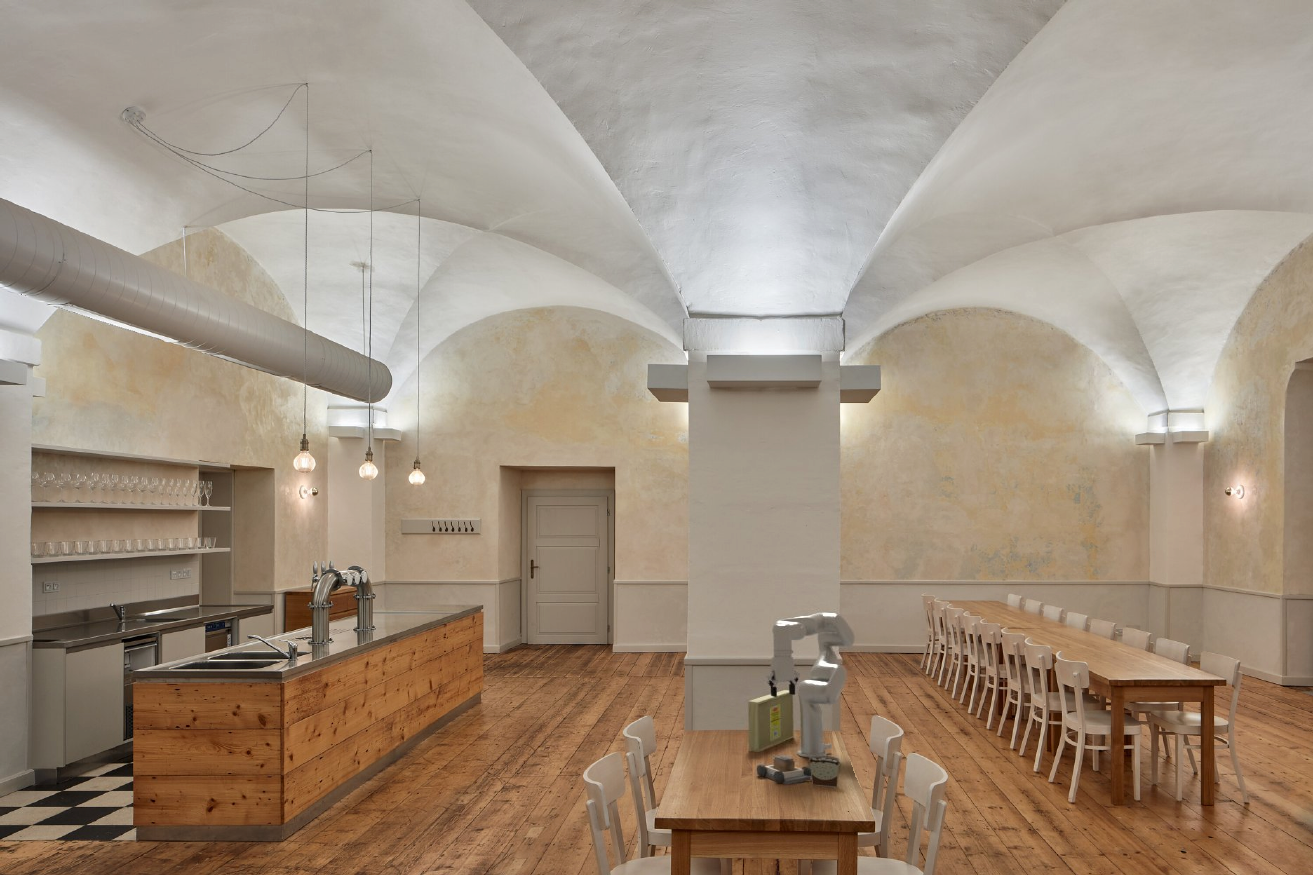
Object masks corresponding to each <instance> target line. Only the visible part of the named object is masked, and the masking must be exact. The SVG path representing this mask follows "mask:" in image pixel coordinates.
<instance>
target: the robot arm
mask: <svg viewBox="0 0 1313 875" xmlns="http://www.w3.org/2000/svg"><path fill="white" fill-rule="evenodd" d="M772 634H773V656H772V657H771V660H770V666H769V667H770V668H769V669H770V670H769V673H768V674H766V675H765V680H766V682H767V684H768V685H769V687H770V694H771V696H773V697H777V692H778V689H777V688H778V687H777V685H778V683H782V682H785V683H786V682H789V684H788V691H789V694H792V695H793V696H795V695H796V685H797V682H798V681H799V679H800V678H799V677H800V675H801V673H799V672H797V671H796V669H795V663H794V657H793V656H792V654H794V650H793V648H792V645H793V644H792V641H801V640H803V639H804V638H805V637H809V636H813V635H817V643H818V650H819V651H818V652H819V654H818V656H817V658H816V660H815V662H814V663H813V665H812V667H811V670H810V672H809V678H810V679H805V680H802V681H800V682H799V684H798V686H797V694H798V696H797V697H798V701H799V708H800V710H799V711H800V714H799V715H800V718H799V719H800V749H798V750H797V753H796V754H797V755H798V756H800V757H803V758H809V759H810V757H813V756H828V753H827V751H826V750H827V749H831V748H832V744H831V743H824V734H823V733H824V731H823V730H824V729H823V728H824V727H823V726H824V725H823V724H824V723H823V719H824V716H823V711H822V708H821V706H820V705H826V706H831V705H834V704H835V703H836V702H837V700H838V698H839V696H840V694H841V692H842V690H843V689H844V686H845V683H846V681H847V670H846V668H845V666H844V665H843V664H839V663H837V662H838V657H837V654H836V652H835V650H834V649H833V647H837V648H850V647H852V646H853V645H854V643H855V634H854V631H853V629H852V628H851V626H850V625H849V624H848V622H847V620H846V619H845V618H844V617H843V616H842V615H841V614H839V613H834V612H833V613H831V612H816V613H813V614H810V615H807V616H806V615H805V616H798V617H790V618H784V619H780V620H777V621H776V622H775V623H774V624H773V626H772Z"/></svg>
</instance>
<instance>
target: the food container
mask: <svg viewBox="0 0 1313 875" xmlns="http://www.w3.org/2000/svg"><path fill="white" fill-rule="evenodd" d="M807 764H809V767H810V769H811V783H812V786H817V785H820V787H828V788H829V787H831V788H838V781H839V770H840V767H841V761H840V759H839V758H838V757H835V756H832V755H831V756H830V755H826V756H813V757H810V758H809V759H808V762H807Z"/></svg>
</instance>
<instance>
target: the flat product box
mask: <svg viewBox="0 0 1313 875" xmlns="http://www.w3.org/2000/svg"><path fill="white" fill-rule="evenodd" d="M747 702H748V708H747V709H748V749H749V750H751V751H750V752H754V751H755V752H756V753H758V752H759V753H760V752H762V751H764V750H767V749H769V748H768V747H770V748H771V747H774V745H775V746H778V745H780V744H782V743H784V742H786V740H787V741H788V740H789V741H790V739H793V738H794V737H795V736H794V735H795V734H794V733H795V732H794V731H795V730H794V727H795V726H794V722H795V721H794V695H792V694H789V689H788V690H786V689H784V690H780V691H777V697H773V696H771V693H770V694H767V695H763V696H761V697H757V698H754V699H751V700H748V701H747ZM749 750H748V751H749Z"/></svg>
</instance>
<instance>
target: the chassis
mask: <svg viewBox="0 0 1313 875" xmlns="http://www.w3.org/2000/svg"><path fill="white" fill-rule="evenodd" d="M756 774H757V775H758V777H764V778H767V779H770V780H771V781H772V780H773V781H775V782H776V784H783V783H784V785H786V786H787V785H792V783H794V784H797V783H798V782H799V783H803V782H802V781H805V782H807V781H806V780H811V781H812V777H811V768H810V766H808V765H806V766H803V767H802V768H799V767H797V766H795V771H789V772H782V771H779V770H776V769H774V764H770V765H765V764H758V765H757V767H756Z"/></svg>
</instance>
